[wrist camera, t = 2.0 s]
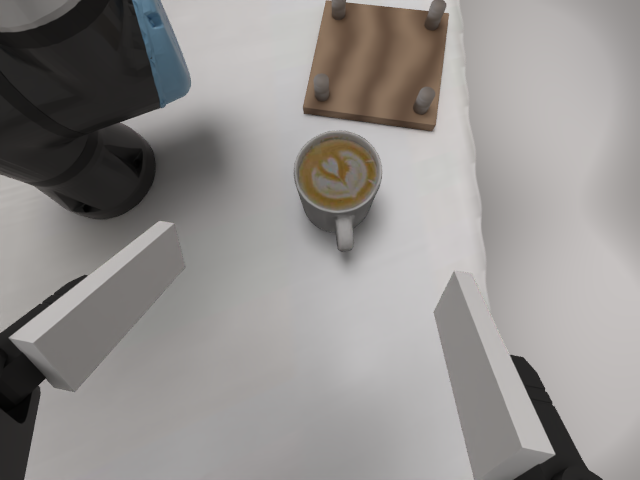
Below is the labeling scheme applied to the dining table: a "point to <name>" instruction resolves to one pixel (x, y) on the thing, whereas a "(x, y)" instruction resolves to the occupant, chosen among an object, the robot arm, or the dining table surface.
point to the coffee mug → (337, 182)
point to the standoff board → (378, 64)
